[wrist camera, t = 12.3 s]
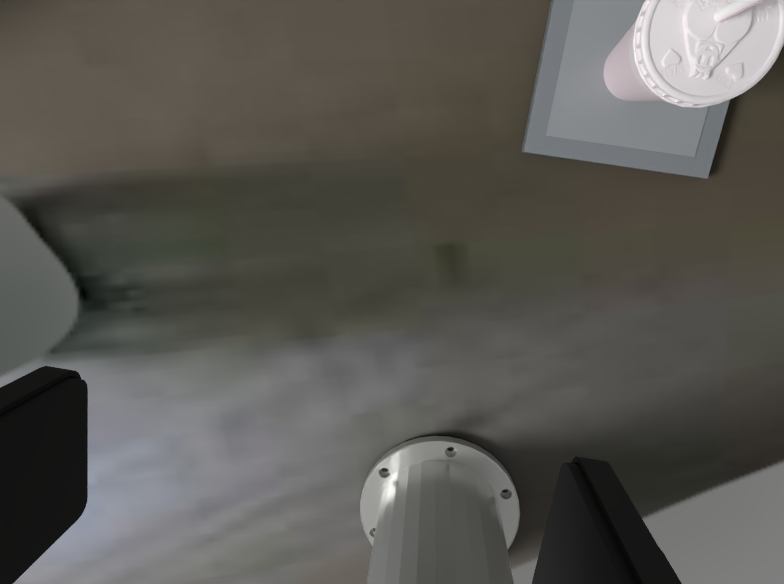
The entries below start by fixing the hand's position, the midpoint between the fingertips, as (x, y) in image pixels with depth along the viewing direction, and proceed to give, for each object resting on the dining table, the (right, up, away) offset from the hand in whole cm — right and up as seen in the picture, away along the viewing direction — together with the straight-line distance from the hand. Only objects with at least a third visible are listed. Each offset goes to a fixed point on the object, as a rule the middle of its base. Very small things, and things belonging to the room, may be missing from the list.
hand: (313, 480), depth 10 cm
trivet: (+17, +18, +23) cm, 34 cm away
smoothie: (+17, +18, +23) cm, 33 cm away
